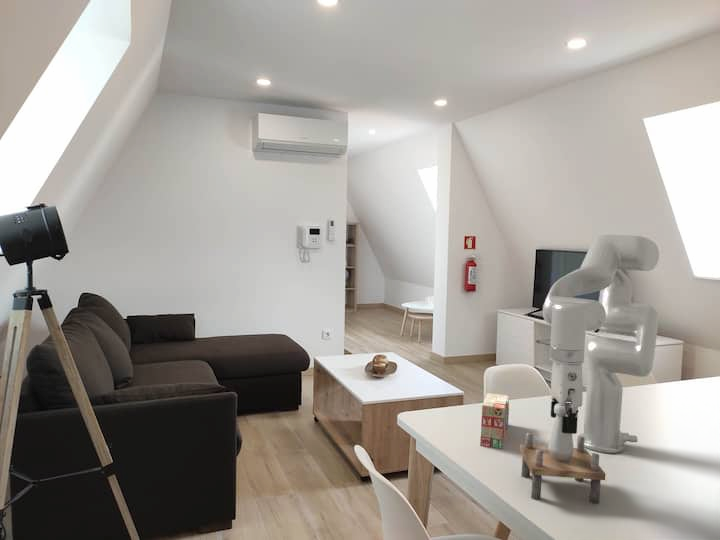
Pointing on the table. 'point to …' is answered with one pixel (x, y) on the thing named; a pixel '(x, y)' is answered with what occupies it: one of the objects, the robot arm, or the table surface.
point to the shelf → (561, 466)
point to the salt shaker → (560, 438)
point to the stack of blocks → (494, 420)
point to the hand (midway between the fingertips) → (563, 424)
